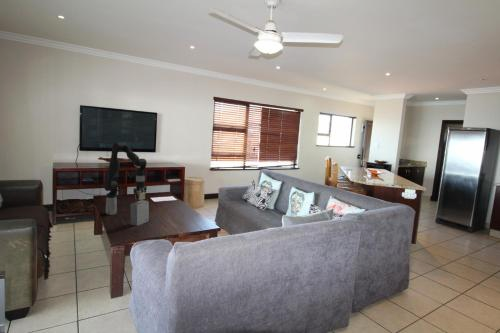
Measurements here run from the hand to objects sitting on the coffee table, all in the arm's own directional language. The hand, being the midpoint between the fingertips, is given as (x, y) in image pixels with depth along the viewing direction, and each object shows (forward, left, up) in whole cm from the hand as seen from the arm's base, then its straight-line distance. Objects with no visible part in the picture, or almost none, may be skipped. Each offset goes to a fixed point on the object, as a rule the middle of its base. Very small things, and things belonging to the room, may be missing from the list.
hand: (140, 198), depth 265 cm
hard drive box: (0, 0, -24) cm, 24 cm away
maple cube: (0, 0, -1) cm, 1 cm away
